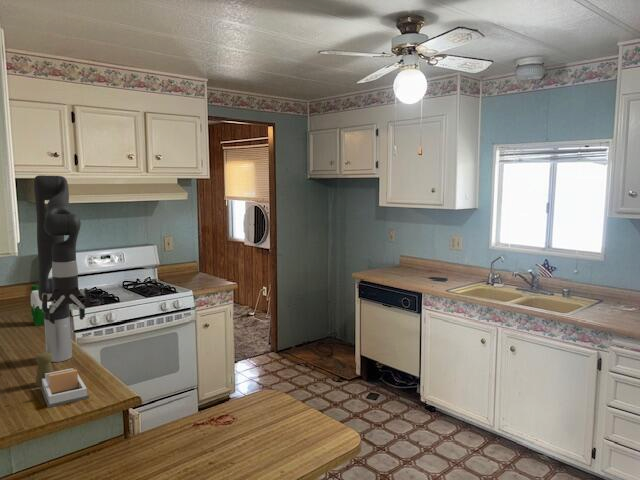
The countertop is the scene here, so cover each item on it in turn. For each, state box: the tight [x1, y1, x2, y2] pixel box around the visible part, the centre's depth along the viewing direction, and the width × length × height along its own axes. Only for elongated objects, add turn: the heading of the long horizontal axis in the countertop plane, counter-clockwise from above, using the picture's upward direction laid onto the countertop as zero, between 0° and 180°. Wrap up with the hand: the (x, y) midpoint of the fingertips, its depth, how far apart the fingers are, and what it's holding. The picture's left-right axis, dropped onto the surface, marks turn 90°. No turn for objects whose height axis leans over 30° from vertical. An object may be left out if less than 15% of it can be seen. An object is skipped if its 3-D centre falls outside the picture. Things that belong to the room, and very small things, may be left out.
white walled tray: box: [40, 367, 90, 408], centre depth 164 cm, size 18×12×5 cm, turn 36°
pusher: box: [49, 369, 79, 393], centre depth 164 cm, size 4×8×6 cm, turn 126°
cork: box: [35, 352, 54, 388], centre depth 171 cm, size 6×6×11 cm
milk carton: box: [30, 284, 53, 327], centre depth 245 cm, size 9×9×20 cm
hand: (67, 321), depth 162 cm, fingers open, 8 cm apart
